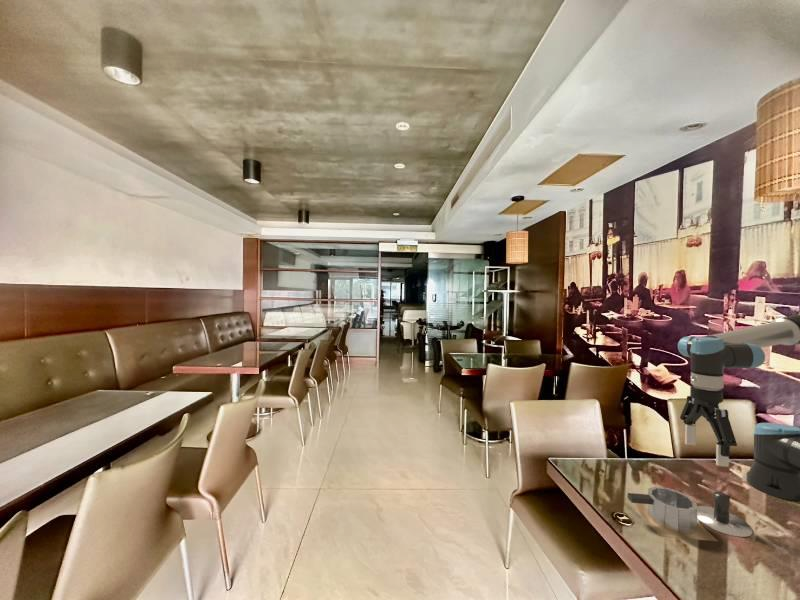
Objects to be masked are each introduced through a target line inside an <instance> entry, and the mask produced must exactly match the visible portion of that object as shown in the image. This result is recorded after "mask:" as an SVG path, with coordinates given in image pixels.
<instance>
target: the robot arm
mask: <svg viewBox="0 0 800 600" xmlns="http://www.w3.org/2000/svg"><path fill="white" fill-rule="evenodd" d="M777 345H784V346H793V345H800V314H796V315H789V316H785V317H781V318H775V319H773V320H771V322H769V323H765V324H761V325H759V324H758V325H755V326H750V327H746V328H745V327H744V328H739V329H736V330H730V331H726V332H720V333H716V334H711V335H704V336H683V337H682V338H680V340H679V341H678V343H677V349H678V352H679V353H680V354H681V356H683V357H688V358H690V387H689V389H690V390H689V391H690V392H689V393H690V395H687V396H686V402H685V405H684V407H683V409H682V411H681V414H680V417H679V419H680V421H681V420H682V421H683V423H684V425H685V426H684V432H685V433H684V434H685V435H684V444H685V445H689V446H696V445H697V424H696V422H697V421H698V420H699V419H700V418H701V417H703V418H704V419H705V420H706V421H707V422H708V423H709V425H710V427H711V429H712V431H713V433H714V436H715V437H716V439H717V442H715V443H716V444H715V457H716V458H715V465H716V466H718V467H727V468H728V467H730V466H729V465H730V464H729V463H730V461H729V460H730V456H731V455H730V450H731V447H737V446H738V442H737V441H736V437H735V435H734V431H733V428H732V425H731V422H730V418H729V411H728V409H721V408H720V404H721V403H723V402H724V390H723V389H724V384H725V383H724V381H725V380H724V378H725V377H724V375H725V374H724V373H725V371H724V370H725V369H751V368H752V369H753V368H759V367H760V366H762V365H763V364H765V362H766V361H765V359H766V354H765V352H764V350H763V349H764V348H767V347H773V346H777ZM762 348H763V349H762ZM746 482H747V484H749V485H751V487H753V488H755V489H757V490H758V491H760V492H762V493H765V494H768V495H770V496H774V497H777V498H780V499H783V500H788V501H794V502H800V427H798V426H794V425H789V424H785V423H776V422H760V423H759V422H758V423H756V424H755V426H754V432H753V462H752V465H751V466H750V468H749V470H748V471H747V473H746Z"/></svg>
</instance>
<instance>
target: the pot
mask: <svg viewBox="0 0 800 600" xmlns="http://www.w3.org/2000/svg"><path fill="white" fill-rule="evenodd" d="M647 489H648V490H647V494H643V493H632V492H627V499H628V501H629V502H631V504H632V503H641V504H648V516H649V517H650V519H651V520H652V521H653V522H654V523H656V524H658V525H659V526H661V527H663V528H664V529H667V530H670V531H673V532H675V533H679V534H688V535H691V534H693V533H695V532H697V522H698V519H697V507H698V505H697V504H698V503H697V502H696V501H695V500H694V499H692V497H690V496H689V495H687V494H685V493H682V492H681V491H679V490H676V489H672V488H669V487H663V486H652V487H649V488H647Z"/></svg>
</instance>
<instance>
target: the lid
mask: <svg viewBox="0 0 800 600" xmlns="http://www.w3.org/2000/svg"><path fill="white" fill-rule="evenodd" d="M713 493H714V495H713V506H709V505H708V506H707V505H697V521H699V522H701V523H702V524H704V525H706V526H707V527H709V528H710V529H713V530H714V531H717V532H719V533H723V534H725V535H730V536H734V537H738V538H739V537H741V538H742V537H743V538H744V537H746V538H747V537H749V536H752V534H753V529H752V527H751V525H749V523H747V522H746V521H745V520H744V519H742V518H741V517H738V516H737V515H735V514H733V513H732V512H730V506H731V505H730V500H731V497H730V495H729V494H727V493H724V492H722V491H714V492H713Z"/></svg>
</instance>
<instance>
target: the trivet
mask: <svg viewBox="0 0 800 600" xmlns="http://www.w3.org/2000/svg"><path fill="white" fill-rule="evenodd" d="M631 504H632V505H633V506H634V507H635V509H636V510H637V511H638V512H639V514H640V515H641V516H642V517H643V518H644V519H645V521H646V522H647V523H648V524H649V525H650V527H651V528H652V529H653V530H654V531H655V532H656V534H658V536H659V537H667V538H668V537H669V538H680V539H689V540H699V541H700V540H701V541H709V542H718V539H717V538H716V537H714V536H713V535H712V534H711V533H710V532H709V531H708V530H707V529H706V528H705V527H703V526H702V525H701V524H700V523H699V522H698V521H697V532H695V533H693V534H691V535H688V534H679V533H675V532H673V531H670V530H667V529H664V528H663V527H661V526H659V525H658V524H656V523H654V522H653V521H652V520H651V519H650V517H649V516H648V504H641V503H632V502H631Z"/></svg>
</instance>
